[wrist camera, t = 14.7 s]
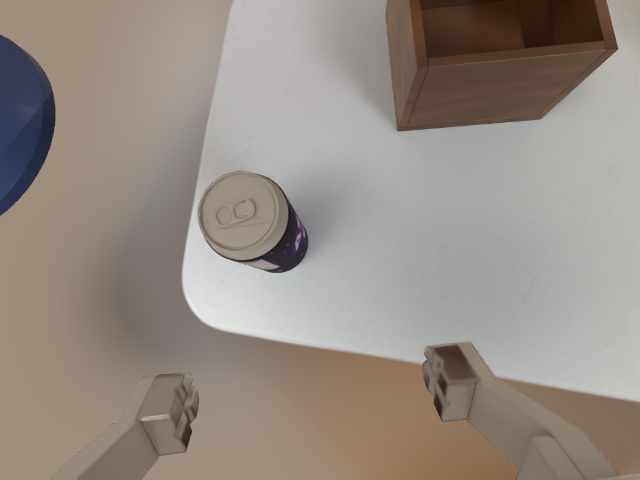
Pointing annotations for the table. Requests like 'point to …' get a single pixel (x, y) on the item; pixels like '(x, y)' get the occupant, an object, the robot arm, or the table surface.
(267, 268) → the beverage can
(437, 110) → the chest
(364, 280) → the table surface
